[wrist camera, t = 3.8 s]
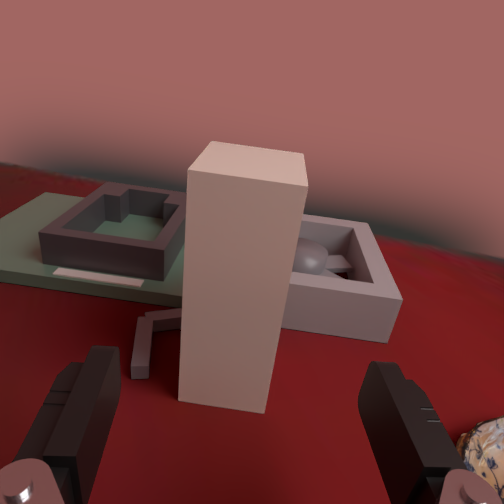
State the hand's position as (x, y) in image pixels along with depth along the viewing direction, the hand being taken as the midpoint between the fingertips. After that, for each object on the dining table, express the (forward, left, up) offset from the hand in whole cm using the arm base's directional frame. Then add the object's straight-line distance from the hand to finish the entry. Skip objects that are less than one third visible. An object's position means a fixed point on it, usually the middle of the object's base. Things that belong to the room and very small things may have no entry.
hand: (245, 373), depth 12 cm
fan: (+1, +14, -7) cm, 16 cm away
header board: (-13, +19, -7) cm, 24 cm away
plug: (-1, +7, -7) cm, 10 cm away
